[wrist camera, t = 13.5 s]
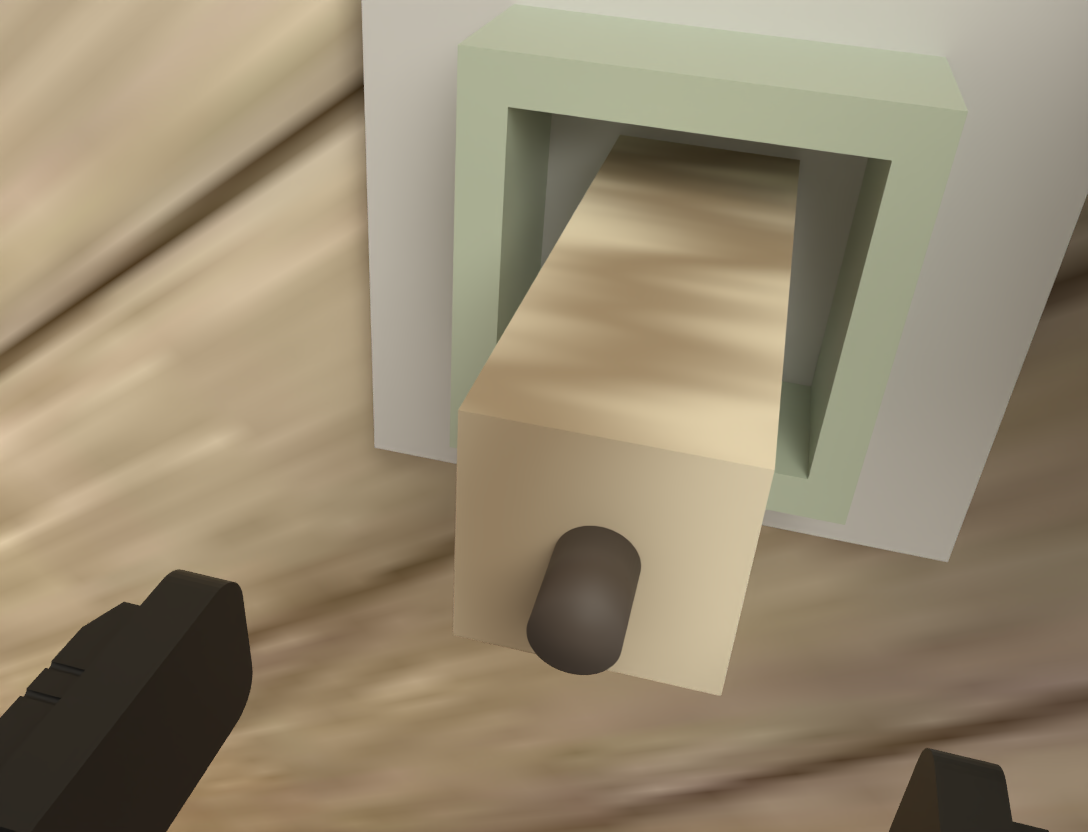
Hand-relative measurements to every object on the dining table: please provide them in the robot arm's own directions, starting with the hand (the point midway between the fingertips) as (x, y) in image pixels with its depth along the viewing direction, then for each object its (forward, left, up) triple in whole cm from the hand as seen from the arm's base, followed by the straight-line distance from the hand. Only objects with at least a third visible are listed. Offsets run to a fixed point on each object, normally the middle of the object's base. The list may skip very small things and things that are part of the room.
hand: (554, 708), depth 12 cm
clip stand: (0, 0, -16) cm, 16 cm away
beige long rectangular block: (0, 0, -14) cm, 14 cm away
